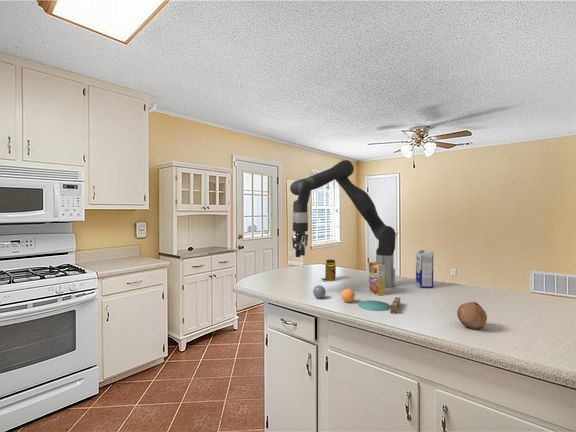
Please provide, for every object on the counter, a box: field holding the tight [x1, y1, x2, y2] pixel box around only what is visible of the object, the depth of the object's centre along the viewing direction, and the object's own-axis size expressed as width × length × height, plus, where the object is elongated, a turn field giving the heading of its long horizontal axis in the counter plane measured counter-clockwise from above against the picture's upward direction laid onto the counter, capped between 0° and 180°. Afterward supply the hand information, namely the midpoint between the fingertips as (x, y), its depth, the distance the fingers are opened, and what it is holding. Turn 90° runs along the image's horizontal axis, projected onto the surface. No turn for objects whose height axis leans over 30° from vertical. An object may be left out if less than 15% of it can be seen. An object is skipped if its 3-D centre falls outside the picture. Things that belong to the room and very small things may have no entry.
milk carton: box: [415, 249, 435, 289], centre depth 175 cm, size 7×7×20 cm
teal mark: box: [357, 300, 391, 312], centre depth 142 cm, size 14×14×1 cm
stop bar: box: [390, 296, 401, 315], centre depth 138 cm, size 14×2×3 cm, turn 153°
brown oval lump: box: [456, 301, 488, 330], centre depth 116 cm, size 10×9×10 cm
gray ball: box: [312, 285, 327, 299], centre depth 153 cm, size 6×6×6 cm
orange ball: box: [340, 288, 355, 303], centre depth 147 cm, size 6×6×6 cm
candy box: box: [368, 261, 386, 296], centre depth 161 cm, size 9×4×15 cm, turn 17°
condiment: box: [320, 259, 338, 282], centre depth 191 cm, size 7×8×12 cm
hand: (300, 256), depth 157 cm, fingers open, 5 cm apart
